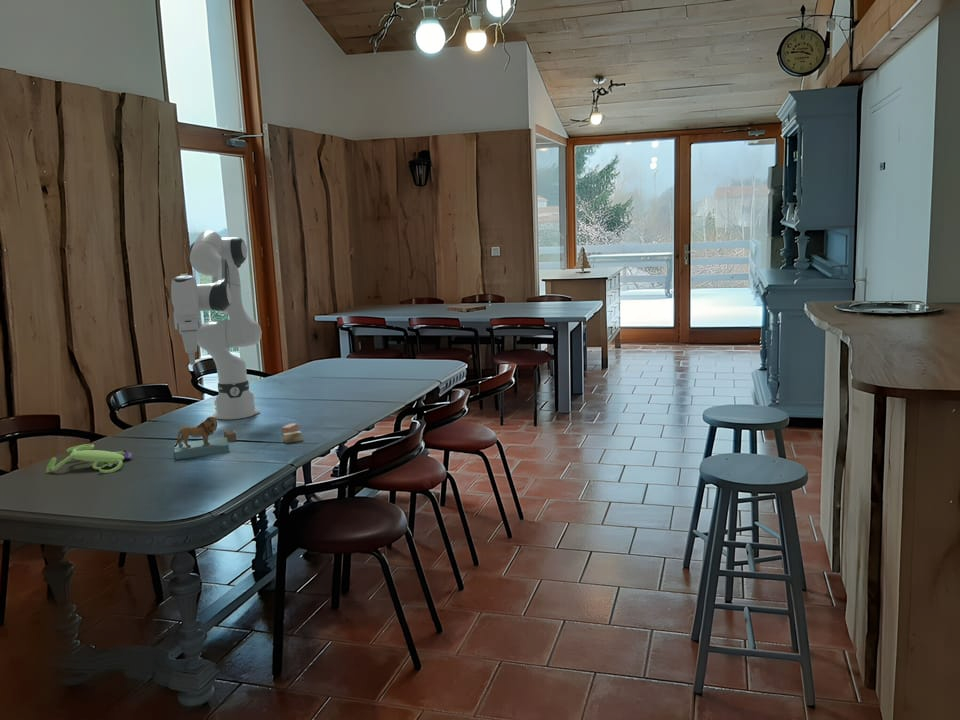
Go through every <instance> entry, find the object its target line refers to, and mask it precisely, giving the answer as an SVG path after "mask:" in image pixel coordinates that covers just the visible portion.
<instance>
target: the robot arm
mask: <svg viewBox="0 0 960 720" xmlns="http://www.w3.org/2000/svg"><path fill="white" fill-rule="evenodd" d="M247 255H248V247H247V245H246V242H245V241H244V239H242V237H236V236H232V237H222V236H221V235H220V234H219V233H218V232H215V231H213V230H205V231H203V232H201V233H200V234H198V237H197V238H196V240H195V241H194V242H193V243H191V245H190V246H189V262H190V265H191V266H192V268H193V270H195V271H196V272H197V273H199V274H201V275H205V276H211V277H212V279H211V280H212V281H211V283H210V282H209V283H207V282H206V283H197V280H196V278H195V276H194V275H190V274H186V275H185V274H184V275H178V276H175V277H173V278H172V279H171V285H170V286H171V287H170V288H171V289H170V291H171V292H170V293H171V304H172V305H173V321H174V323H173V325H174V329H175V330H178V333H179V334H180V335H181V338H182V343H183V347H184V350H185V353H186V354H187V355H188V360H189V365H190V366H193V365H194V366H195V365H196V353H197V352H198V347H200V349H203V350H204V351H205V352H207V353H208V354H209V355H210V356H211V358H212V359H213V362H214V363H215V367H216V372H217V379H218V382H217V391H218V395H217V396H216V397H215V399H214V400H213V401H214V402H213V403H214V406H215V411H214V412H213V414H212V415H211V417H215V418H216V420H217V419H218V420H238V419H245V418H250V417H253V416H255V415H258V414H260V413H261V411H260V409H258V408H256V404H255V397H254V396H255V395H254V393H253V392H251V391H250V390H249V389H250V382H249V380H248V375H247V373H248V372H247V365H246V362H245V360H244V359H242V358H241V357H240V356H237V355H234V354H232V353H231V352H230V351H229V349H231V348H232V349H233V348H247V347H250V346H251V347H252V346H254V345H258V343H259V342H260V341H261V339H262V335H263V334H262V333H263V332H262V328H261V326H260V324H259V323H258V322H257V321H256V320H254V319H253V318H251V317H250V316H249V314H248V313H247V312H246V310H245V308H244V305H243V299H242V289H241V288H242V287H241V277H240V273H239V268H241V266H242V265H243V264H244V263H245V261H246V259H247V258H248V257H247ZM204 311H205V312H207V311H214V312H216V311H218V312H220V313H222V314H224V315H227V316H228V320H218V321H217V320H215V321H207V322H204V323H203V321H202V313H201V312H204Z"/></svg>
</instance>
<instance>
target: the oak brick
mask: <svg viewBox="0 0 960 720" xmlns="http://www.w3.org/2000/svg"><path fill="white" fill-rule="evenodd" d="M282 438H283V439H282V441H283V443H286V444H287V443H293V442H300V441H303V431H301V430H299V431H295V432H289V433H283V435H282Z"/></svg>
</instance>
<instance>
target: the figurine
mask: <svg viewBox="0 0 960 720" xmlns="http://www.w3.org/2000/svg"><path fill="white" fill-rule="evenodd" d="M94 448H95V445H94V444H92V443H85V444H80V445H75V446H72V447H68V448H66V452H67V453H69V452H71V453H70V454H69V455H68V456H67V457H66V458H65V459H63V460H61V461H59V463H57V464H56V462H57V457H55V456H54V457H52V458H51V459H50V460H49V462H48V464H47V465H46V470H45V474H47V473H50V472H55V471H57V470H58V469H59V468H61V467H62V466H63V465H65V464H67V463H68V462H69V461H71V460H72V459H74V460H78V461H82V462H87V463H90V466H92V469H94V470H98V471H99V472H100V473H102V474H109V473H110V474H111V473H115V472H117V471H119V470H120V469H121V468H122V467H123V460H132V457H133V454H134V452H133V451H129V450H123V451H108V450H99V449H97V450H96V449H95V450H94ZM99 463H103V464H104V465H102V466H97V465H98V464H99ZM117 463H118V464H117ZM115 464H117V466H115V467H113V468H111V467H112V466H113V465H115ZM105 467H110V468H111V469H103V468H105Z"/></svg>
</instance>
